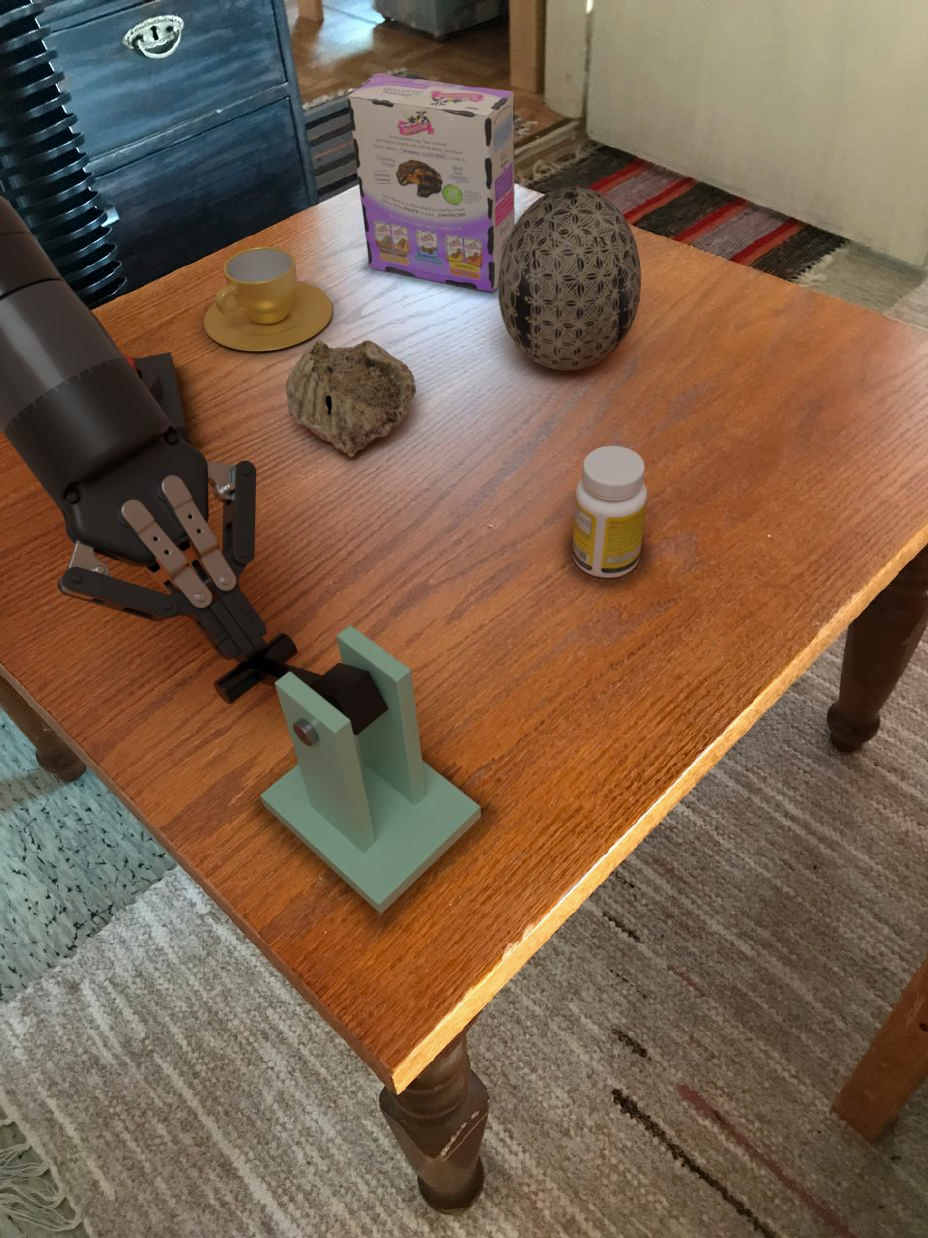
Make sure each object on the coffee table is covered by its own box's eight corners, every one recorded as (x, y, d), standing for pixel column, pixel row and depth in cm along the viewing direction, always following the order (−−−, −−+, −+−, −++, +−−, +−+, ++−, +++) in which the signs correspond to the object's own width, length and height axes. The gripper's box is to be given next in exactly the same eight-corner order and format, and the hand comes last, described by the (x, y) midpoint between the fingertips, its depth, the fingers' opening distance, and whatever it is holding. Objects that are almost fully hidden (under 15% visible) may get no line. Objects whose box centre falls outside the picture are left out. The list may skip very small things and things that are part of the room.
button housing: (191, 447, 80) (179, 407, 77) (78, 471, 78) (61, 431, 75) (176, 372, 87) (164, 333, 84) (73, 394, 85) (56, 354, 82)
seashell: (334, 495, 80) (441, 436, 78) (285, 444, 74) (399, 379, 72) (311, 404, 86) (409, 347, 84) (265, 351, 81) (369, 289, 78)
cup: (280, 271, 98) (270, 218, 94) (359, 315, 92) (352, 261, 88) (179, 321, 92) (164, 267, 88) (257, 371, 87) (244, 316, 83)
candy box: (517, 266, 97) (517, 88, 84) (492, 295, 93) (489, 115, 81) (393, 240, 101) (377, 68, 89) (366, 268, 98) (344, 92, 85)
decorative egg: (660, 356, 86) (683, 187, 75) (572, 418, 81) (581, 245, 69) (560, 308, 92) (566, 143, 80) (471, 362, 86) (465, 194, 75)
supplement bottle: (647, 543, 71) (660, 451, 64) (627, 587, 68) (639, 496, 62) (584, 526, 72) (591, 434, 66) (562, 569, 69) (567, 477, 63)
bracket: (263, 806, 58) (213, 670, 48) (363, 722, 61) (335, 581, 52) (380, 915, 53) (351, 789, 43) (481, 817, 57) (475, 681, 47)
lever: (226, 707, 57) (205, 674, 56) (292, 657, 59) (273, 624, 58) (335, 754, 47) (312, 715, 46) (409, 692, 49) (389, 653, 48)
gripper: (-49, 432, 46) (173, 725, 50) (181, 312, 52) (365, 581, 56) (-54, 471, 53) (143, 728, 56) (151, 360, 59) (317, 598, 62)
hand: (253, 654), depth 56 cm, fingers closed
